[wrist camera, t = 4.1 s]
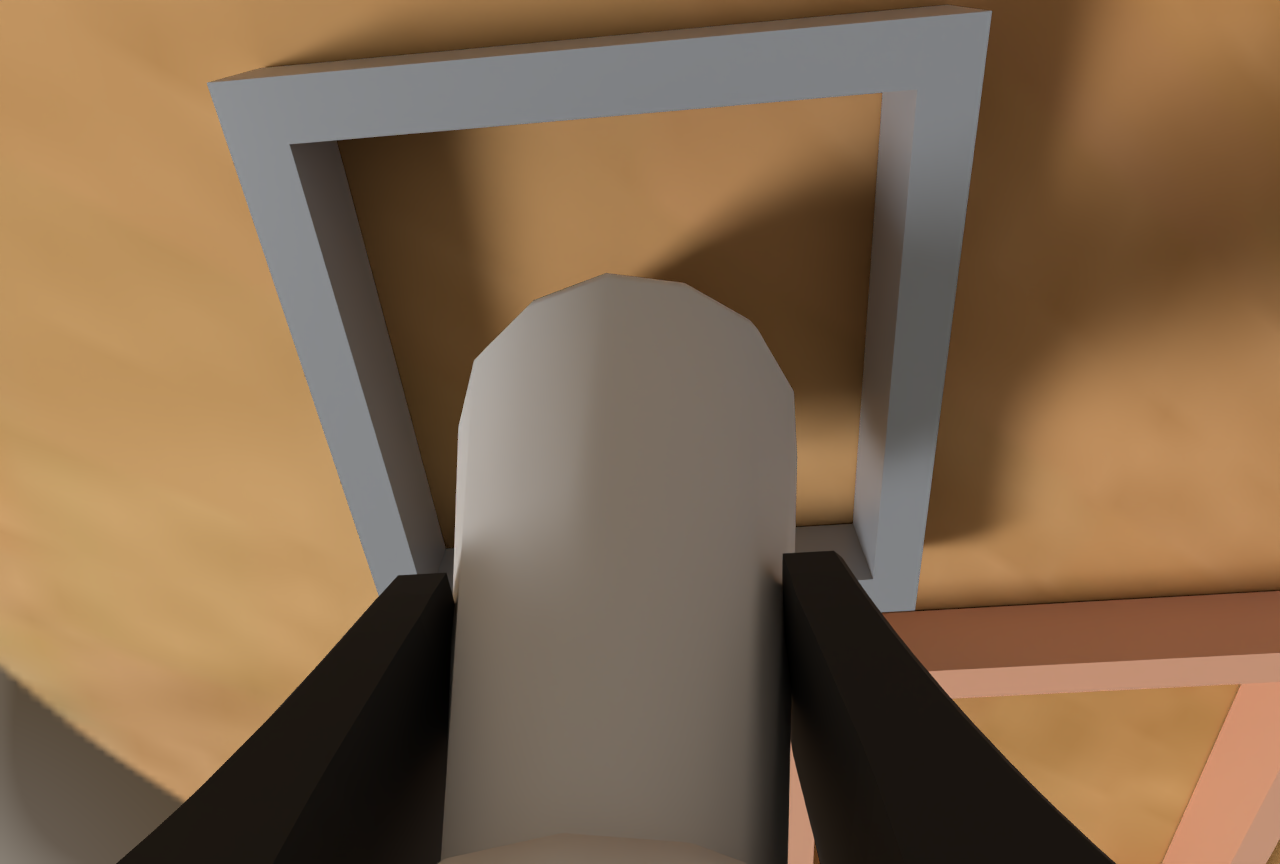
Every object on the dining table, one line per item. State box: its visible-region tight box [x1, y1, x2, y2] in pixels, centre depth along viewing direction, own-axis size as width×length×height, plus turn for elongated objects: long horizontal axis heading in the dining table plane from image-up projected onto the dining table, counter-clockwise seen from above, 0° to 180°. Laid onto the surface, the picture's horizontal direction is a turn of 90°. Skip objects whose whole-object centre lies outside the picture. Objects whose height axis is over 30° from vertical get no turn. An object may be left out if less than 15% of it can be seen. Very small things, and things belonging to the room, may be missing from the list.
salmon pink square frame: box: [788, 591, 1280, 864], centre depth 23 cm, size 14×14×2 cm
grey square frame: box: [207, 5, 992, 612], centre depth 16 cm, size 12×12×2 cm
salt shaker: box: [438, 273, 797, 864], centre depth 10 cm, size 6×6×13 cm
